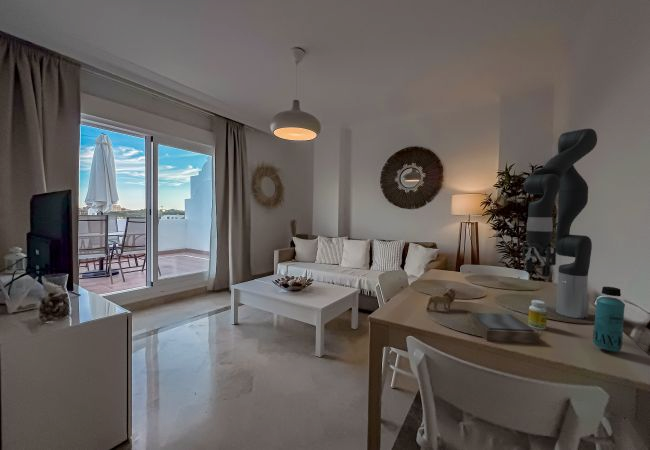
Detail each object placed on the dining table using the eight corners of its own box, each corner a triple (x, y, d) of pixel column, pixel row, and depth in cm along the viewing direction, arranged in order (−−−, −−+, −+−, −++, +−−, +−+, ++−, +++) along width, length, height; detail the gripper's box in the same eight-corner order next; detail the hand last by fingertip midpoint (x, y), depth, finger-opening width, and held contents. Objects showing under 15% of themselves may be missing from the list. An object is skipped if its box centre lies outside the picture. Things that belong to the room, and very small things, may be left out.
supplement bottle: (531, 322, 109) (533, 298, 109) (548, 327, 105) (550, 302, 104) (525, 325, 106) (526, 300, 106) (542, 331, 102) (544, 304, 101)
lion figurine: (449, 305, 128) (449, 286, 127) (458, 309, 123) (459, 289, 122) (422, 309, 123) (423, 289, 122) (431, 313, 118) (431, 292, 117)
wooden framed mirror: (511, 323, 108) (511, 313, 108) (538, 343, 92) (538, 331, 92) (467, 321, 110) (467, 311, 110) (486, 340, 94) (487, 328, 94)
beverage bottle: (586, 346, 90) (590, 284, 89) (605, 345, 91) (609, 284, 90) (608, 357, 84) (612, 290, 83) (628, 356, 85) (633, 290, 83)
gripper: (565, 231, 96) (562, 278, 97) (536, 228, 110) (534, 269, 111) (542, 231, 96) (539, 278, 97) (516, 228, 111) (514, 269, 112)
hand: (537, 273), depth 104 cm, fingers open, 8 cm apart
